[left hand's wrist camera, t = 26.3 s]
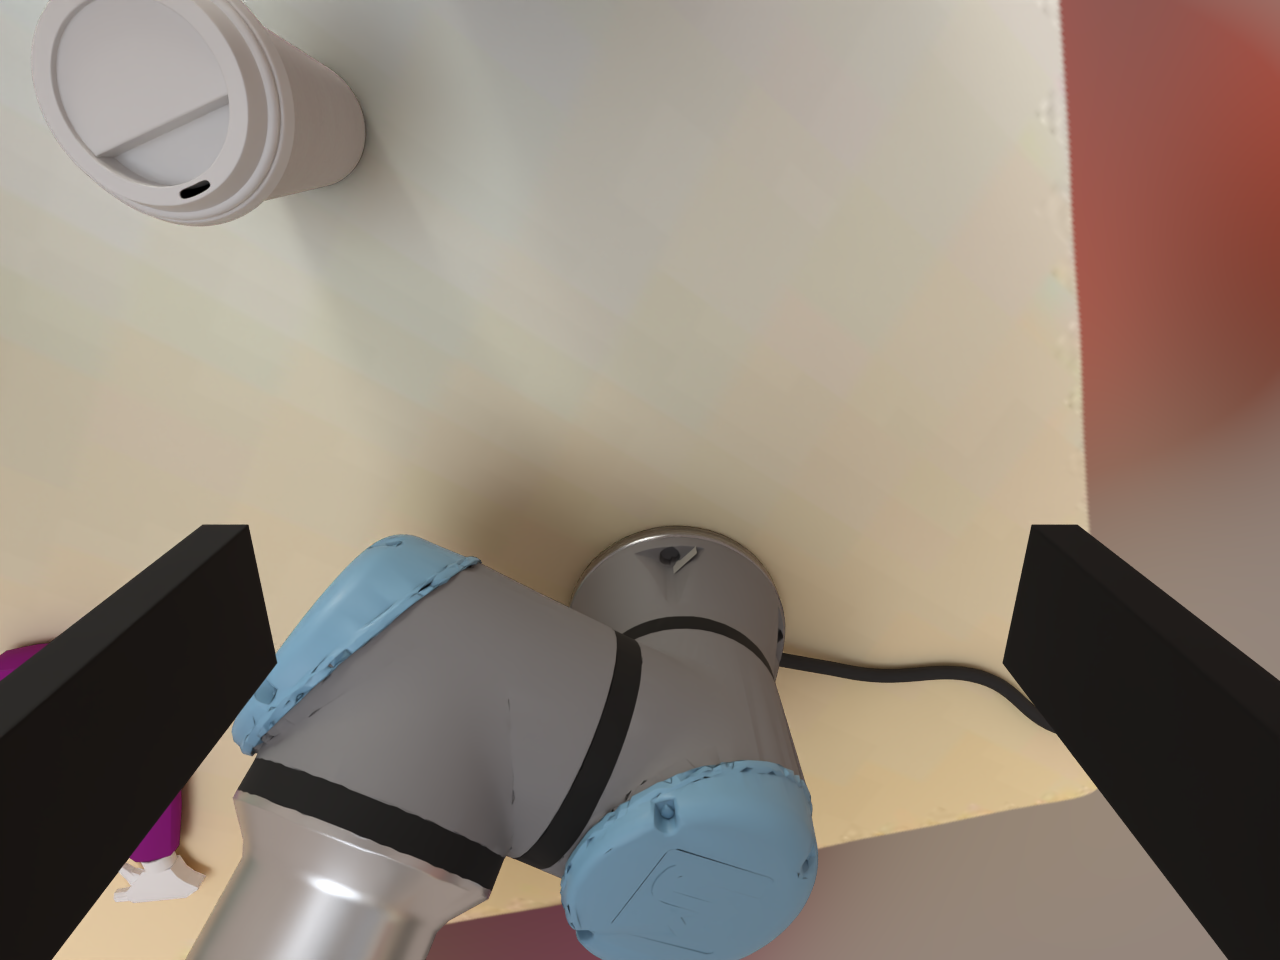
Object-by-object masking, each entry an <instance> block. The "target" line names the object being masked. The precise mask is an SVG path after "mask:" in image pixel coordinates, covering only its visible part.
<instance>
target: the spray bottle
mask: <svg viewBox="0 0 1280 960" xmlns="http://www.w3.org/2000/svg"><path fill="white" fill-rule="evenodd" d="M47 644H49V643H46V644H37V645H31V646H26V647H21V648H17V649H12V650H8V651H6V652H4V653H3V654H1V655H0V681H1V680H2V679H3V678H5V677H6V676H7V675H9V674H10V673H11V672H13V671H14V670H15V669H16V668H18V667H19V666H20V665H22V664H23V663H24V662H25V661H27V660H28V659H29V658H31V657H32V656H33V655H35V654H36V653H37V652H38V651H40V650H41V649H42V648H44V647H45V646H46V645H47ZM181 810H182V799H181V791H180V792H179V793H178V794H177V796H176V797H175V798H174V800H173V801H172V802H171V804H170V805H169V806H168V808H167V809H166V810H165V812H164V813H163V814H162V815H161V817H160V818H159V819H158V821H157V822H156V823H155V825H154V826H153V827H152V829H151V830H150V831H149V833H148V834H147V835H146V837H145V838H144V839H143V840H142V842H141V843H140V844H139V846H138V847H137V848H136V850H135V851H134V852H133V854H132V855H131V856H130V859H132V860H134V861H135V862H141V863H142V865H143V867H144V869H140V868H135V867H133V866H132V865H130V864H128V863H125V864H124V865H123V867H122V868H121V869H120V871H119V873H120V874H121V875H122V876H123V877H124V878H125V879H126V880H127V881H128V883H129V884H130V885H131V886H130V887H126V888H121V889H117V890H116V892H115V893H114V900H115V902H122V901H131V902H133V903H138V902H148V901H158V900H168V899H178V898H186V897H188V896H189V895H191V894H192V893H193V892H195V891H196V890H198V889H199V887H200V885H201V884H202V882H203V880H204V879H205V877H206V875H204V874H202V873H199V872H197V871H195V870H193V869H192V868H190V867H189V866H187V865H186V863H185V862H184V860H183V859H182V857H181V856H180V855H176V853H175V850H176V849H177V847H178V846H179V842H180V826H181Z"/></svg>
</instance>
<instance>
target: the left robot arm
mask: <svg viewBox="0 0 1280 960" xmlns="http://www.w3.org/2000/svg"><path fill="white" fill-rule="evenodd" d="M784 639H785V618H784V612H783V608H782V604H781V601H780V598H779V595H778V592H777V589H776V587H775V584H774V582H773V580H772V578H771V577H770V575H769V573H768V571H767V570H766V569H765V567H764V566H763V565H762V563H761V562H760V561H759V560H758V559H757V558H756V557H755V556H754V555H753V554H752V553H751V552H749V551H748V550H747V549H746V548H744V547H743V546H741V545H740V544H738V543H737V542H735V541H733V540H731V539H730V538H727V537H725V536H723V535H721V534H718V533H715V532H712V531H708V530H704V529H700V528H694V527H683V526H669V527H660V528H654V529H649V530H645V531H641V532H638V533H635V534H633V535H630V536H628V537H625V538H623V539H621V540H620V541H618V542H616V543H614V544H613V545H611V546H610V547H608V548H607V549H605V550H604V551H603V552H602V553H600V554H599V555H598V556H597V557H596V558H595V559H594V560H593V561H592V562H591V563H590V565H589V566H588V567H587V568H586V569H585V571H584V572H583V574H582V575H581V577H580V579H579V581H578V583H577V584H576V587H575V589H574V592H573V594H572V598H571V602H570V607H567V606H565V605H563V604H561V603H559V602H557V601H555V600H553V599H551V598H549V597H547V596H544V595H542V594H540V593H538V592H536V591H534V590H532V589H530V588H528V587H527V586H525V585H523V584H521V583H519V582H517V581H515V580H513V579H511V578H509V577H507V576H505V575H503V574H501V573H499V572H497V571H495V570H493V569H491V568H489V567H487V566H485V565H483V564H482V562H481V560H479V559H478V558H476V557H473V556H471V557H465V556H462V555H460V554H457V553H455V552H452V551H450V550H447V549H445V548H442V547H440V546H438V545H436V544H433V543H431V542H429V541H426V540H424V539H422V538H419V537H416V536H412V535H393V536H389V537H386V538H384V539H381V540H379V541H377V542H376V543H374V544H373V545H371V546H370V547H368V548H367V549H366V550H365V551H363V552H362V553H361V554H360V555H359V556H358V557H356V558H355V559H354V560H353V561H352V562H351V563H350V564H349V565H348V566H347V567H346V568H345V569H344V570H343V571H342V572H341V574H340V575H339V576H338V577H337V578H336V579H335V580H334V581H333V582H332V584H331V585H330V586H329V587H328V588H327V589H326V590H325V592H324V593H323V594H322V595H321V596H320V597H319V599H318V600H317V601H316V602H315V603H314V605H313V606H312V607H311V608H310V610H309V611H308V612H307V613H306V615H305V616H304V617H303V618H302V620H301V621H300V622H299V624H298V625H297V626H296V627H295V629H294V630H293V631H292V633H291V634H290V635H289V637H288V638H287V639H286V641H285V642H284V643H283V645H282V646H281V647H280V649H279V650H278V652H277V653H276V654H275V649H274V644H273V640H272V635H271V630H270V625H269V621H268V616H267V611H266V606H265V602H264V597H263V592H262V587H261V583H260V578H259V573H258V568H257V563H256V559H255V554H254V549H253V544H252V540H251V535H250V530H249V525H202V526H200V527H199V528H198V529H196V530H195V531H194V532H193V533H191V534H190V535H189V536H187V537H186V538H185V539H183V540H182V541H181V542H180V543H178V544H177V545H176V546H174V547H173V548H172V549H170V550H169V551H168V552H167V553H165V554H164V555H163V556H161V557H160V558H159V559H158V560H156V561H155V562H154V563H152V564H151V565H150V566H148V567H147V568H146V569H145V570H143V571H142V572H141V573H139V574H138V575H137V576H136V577H134V578H133V579H132V580H130V581H129V582H128V583H126V584H125V585H124V586H123V587H121V588H120V589H119V590H117V591H116V592H115V593H114V594H112V595H111V596H110V597H108V598H107V599H106V600H104V601H103V602H102V603H101V604H99V605H98V606H97V607H95V608H94V609H93V610H92V611H90V612H89V613H88V614H86V615H85V616H84V617H82V618H81V619H80V620H79V621H77V622H76V623H75V624H73V625H72V626H71V627H69V628H68V629H67V630H66V631H64V632H63V633H62V634H60V635H59V636H58V637H57V638H55V639H54V640H53V641H51V642H50V643H49V644H47V645H46V646H45V647H44V648H42V649H41V650H40V651H38V652H37V653H36V654H35V655H33V656H32V657H31V658H29V659H28V660H27V661H25V662H24V663H23V664H22V665H20V666H19V667H18V668H16V669H15V670H14V671H13V672H11V673H10V674H9V675H7V676H6V677H5V678H3V679H2V680H1V681H0V960H52V959H53V957H54V956H55V955H56V953H57V952H58V951H59V949H60V948H61V947H62V946H63V944H64V943H65V942H66V940H67V939H68V938H69V936H70V935H71V934H72V932H73V931H74V930H75V928H76V927H77V926H78V925H79V923H80V922H81V921H82V919H83V918H84V917H85V915H86V914H87V913H88V911H89V910H90V909H91V907H92V906H93V905H94V903H95V902H96V901H97V900H98V898H99V897H100V896H101V894H102V893H103V892H104V890H105V889H106V888H107V886H108V885H109V884H110V882H111V881H112V880H113V879H114V877H115V876H116V875H117V873H118V872H119V871H120V869H121V868H122V867H123V865H124V864H125V863H126V861H127V860H128V859H129V858H130V856H131V855H132V854H133V852H134V851H135V850H136V848H137V847H138V846H139V844H140V843H141V842H142V840H143V839H144V838H145V837H146V835H147V834H148V833H149V831H150V830H151V829H152V827H153V826H154V825H155V823H156V822H157V821H158V819H159V818H160V817H161V815H162V814H163V813H164V812H165V810H166V809H167V808H168V806H169V805H170V804H171V802H172V801H173V800H174V798H175V797H176V796H177V794H178V793H179V792H180V791H181V789H182V788H183V787H184V785H185V784H186V783H187V781H188V780H189V779H190V777H191V776H192V775H193V773H194V772H195V771H196V770H197V768H198V767H199V766H200V764H201V763H202V762H203V760H204V759H205V758H206V756H207V755H208V754H209V752H210V751H211V750H212V748H213V747H214V746H215V745H216V743H217V742H218V741H219V739H220V738H221V737H222V735H223V734H224V733H225V731H226V730H227V729H228V727H229V726H230V725H231V724H232V722H233V721H234V720H235V721H234V724H233V727H232V735H233V740H234V742H235V743H236V744H238V745H239V746H240V748H241V751H242V753H243V754H246V755H250V756H253V755H254V754H255V753H258V754H257V756H256V758H255V760H254V762H253V764H252V765H251V767H250V769H249V770H248V772H247V774H246V776H245V777H244V779H243V781H242V782H241V784H240V786H239V788H238V789H237V791H236V793H235V795H234V797H233V801H234V805H235V809H236V813H237V817H238V821H239V825H240V829H241V833H242V837H243V856H242V859H241V860H240V862H239V864H238V866H237V868H236V869H235V871H234V873H233V875H232V877H231V878H230V880H229V882H228V884H227V886H226V887H225V889H224V891H223V893H222V895H221V896H220V898H219V900H218V902H217V903H216V905H215V907H214V909H213V911H212V912H211V914H210V916H209V918H208V920H207V921H206V923H205V925H204V927H203V929H202V930H201V932H200V934H199V936H198V938H197V939H196V941H195V943H194V945H193V946H192V948H191V950H190V952H189V954H188V955H187V957H186V959H185V960H426V958H427V955H428V953H429V950H430V948H431V946H432V943H433V941H434V938H435V936H436V933H437V932H438V931H439V930H440V929H441V928H442V927H443V926H444V925H445V924H446V923H447V922H448V921H449V920H451V919H453V918H455V917H456V916H458V915H460V914H462V913H464V912H466V911H467V910H469V909H471V908H473V907H475V906H476V905H478V904H480V903H482V902H484V901H485V900H487V899H488V898H489V896H490V894H491V891H492V889H493V886H494V884H495V881H496V878H497V876H498V873H499V871H500V868H501V865H502V863H503V860H504V859H505V857H506V856H508V857H511V858H513V859H516V860H519V861H521V862H524V863H526V864H528V865H531V866H533V867H536V868H538V869H540V870H543V871H545V872H547V873H550V874H552V875H555V876H557V877H559V878H561V891H560V894H561V902H562V905H563V907H564V909H565V913H566V918H567V921H568V923H569V925H570V926H571V927H572V928H573V929H575V930H576V936H577V939H578V941H579V942H580V943H581V944H582V945H583V946H584V947H585V948H586V949H587V950H588V951H589V952H591V953H592V954H594V955H595V956H597V957H599V958H601V959H602V960H739V959H742V958H744V957H746V956H748V955H750V954H752V953H754V952H755V951H757V950H759V949H761V948H762V947H764V946H765V945H767V944H768V943H770V942H771V941H772V940H774V939H775V938H776V937H777V936H778V935H780V934H781V933H782V932H783V931H784V930H785V929H786V928H787V927H788V926H789V925H790V924H791V923H792V921H793V920H794V919H795V918H796V917H797V916H798V914H799V913H800V912H801V910H802V909H803V907H804V905H805V904H806V902H807V900H808V898H809V896H810V893H811V891H812V888H813V886H814V883H815V879H816V874H817V868H818V849H817V842H816V837H815V832H814V827H813V822H812V803H811V795H810V792H809V790H808V788H807V785H806V783H805V780H804V777H803V773H802V770H801V767H800V763H799V760H798V757H797V753H796V750H795V747H794V743H793V740H792V737H791V733H790V730H789V727H788V723H787V720H786V717H785V713H784V710H783V707H782V703H781V700H780V697H779V693H778V690H777V687H776V683H775V681H776V677H777V673H778V669H779V666H780V667H785V668H791V669H797V670H802V671H808V672H814V673H820V674H826V675H831V676H836V677H841V678H847V679H852V680H859V681H867V682H881V683H895V682H912V681H924V680H938V679H954V680H964V681H970V682H974V683H978V684H981V685H984V686H987V687H989V688H991V689H993V690H995V691H997V692H998V693H1000V694H1001V695H1003V696H1004V697H1005V698H1007V699H1008V700H1009V701H1010V702H1011V703H1012V704H1013V705H1015V706H1016V707H1017V708H1018V709H1019V710H1020V711H1021V712H1022V713H1023V714H1024V715H1026V716H1027V717H1028V718H1029V719H1031V720H1032V721H1033V722H1035V723H1036V724H1038V725H1039V726H1041V727H1043V728H1045V729H1046V730H1049V731H1051V732H1053V733H1056V734H1057V735H1058V737H1059V738H1060V739H1061V741H1062V742H1063V743H1064V745H1065V746H1066V747H1067V748H1068V750H1069V751H1070V752H1071V754H1072V755H1073V756H1074V758H1075V759H1076V760H1077V762H1078V763H1079V764H1080V766H1081V767H1082V768H1083V770H1084V771H1085V772H1086V773H1087V775H1088V776H1089V777H1090V779H1091V780H1092V781H1093V783H1094V784H1095V785H1096V787H1097V788H1098V789H1099V791H1100V792H1101V793H1102V794H1103V796H1104V797H1105V798H1106V800H1107V801H1108V802H1109V804H1110V805H1111V806H1112V808H1113V809H1114V810H1115V812H1116V813H1117V814H1118V815H1119V817H1120V818H1121V819H1122V821H1123V822H1124V823H1125V825H1126V826H1127V827H1128V829H1129V830H1130V831H1131V833H1132V834H1133V835H1134V836H1135V838H1136V839H1137V840H1138V842H1139V843H1140V844H1141V846H1142V847H1143V848H1144V850H1145V851H1146V852H1147V854H1148V855H1149V856H1150V858H1151V859H1152V860H1153V861H1154V863H1155V864H1156V865H1157V867H1158V868H1159V869H1160V871H1161V872H1162V873H1163V875H1164V876H1165V877H1166V879H1167V880H1168V881H1169V882H1170V884H1171V885H1172V886H1173V888H1174V889H1175V890H1176V892H1177V893H1178V894H1179V896H1180V897H1181V898H1182V900H1183V901H1184V902H1185V903H1186V905H1187V906H1188V907H1189V909H1190V910H1191V911H1192V913H1193V914H1194V915H1195V917H1196V918H1197V919H1198V921H1199V922H1200V923H1201V924H1202V926H1203V927H1204V928H1205V930H1206V931H1207V932H1208V934H1209V935H1210V936H1211V938H1212V939H1213V940H1214V942H1215V943H1216V944H1217V945H1218V947H1219V948H1220V949H1221V951H1222V952H1223V953H1224V955H1225V956H1226V957H1227V959H1228V960H1280V681H1279V680H1278V679H1277V678H1275V677H1274V676H1273V675H1271V674H1270V673H1269V672H1267V671H1266V670H1265V669H1264V668H1262V667H1261V666H1260V665H1258V664H1257V663H1256V662H1255V661H1253V660H1252V659H1251V658H1249V657H1248V656H1247V655H1245V654H1244V653H1243V652H1242V651H1240V650H1239V649H1238V648H1236V647H1235V646H1234V645H1232V644H1231V643H1230V642H1229V641H1227V640H1226V639H1225V638H1223V637H1222V636H1221V635H1220V634H1218V633H1217V632H1216V631H1214V630H1213V629H1212V628H1211V627H1209V626H1208V625H1207V624H1205V623H1204V622H1203V621H1201V620H1200V619H1199V618H1198V617H1196V616H1195V615H1194V614H1192V613H1191V612H1190V611H1188V610H1187V609H1186V608H1185V607H1183V606H1182V605H1181V604H1179V603H1178V602H1177V601H1176V600H1174V599H1173V598H1172V597H1170V596H1169V595H1168V594H1166V593H1165V592H1164V591H1163V590H1161V589H1160V588H1159V587H1157V586H1156V585H1155V584H1154V583H1152V582H1151V581H1150V580H1148V579H1147V578H1146V577H1144V576H1143V575H1142V574H1141V573H1139V572H1138V571H1137V570H1135V569H1134V568H1133V567H1132V566H1130V565H1129V564H1128V563H1126V562H1125V561H1124V560H1122V559H1121V558H1120V557H1119V556H1117V555H1116V554H1115V553H1113V552H1112V551H1111V550H1109V549H1108V548H1107V547H1106V546H1104V545H1103V544H1102V543H1100V542H1099V541H1098V540H1096V539H1095V538H1094V537H1093V536H1091V535H1090V534H1089V533H1087V532H1086V531H1085V530H1084V529H1082V528H1081V527H1080V526H1078V525H1031V530H1030V535H1029V540H1028V544H1027V549H1026V554H1025V559H1024V563H1023V568H1022V573H1021V578H1020V583H1019V587H1018V592H1017V597H1016V602H1015V606H1014V611H1013V616H1012V621H1011V625H1010V630H1009V635H1008V640H1007V644H1006V649H1005V654H1004V659H1003V664H1004V666H1005V667H1006V668H1007V670H1008V671H1009V672H1010V674H1011V675H1012V676H1013V678H1014V679H1015V680H1016V682H1017V683H1018V684H1019V685H1020V687H1021V688H1022V689H1023V691H1024V692H1025V693H1026V695H1027V696H1028V697H1029V699H1030V700H1031V701H1032V703H1033V704H1034V705H1035V706H1036V707H1035V706H1034V705H1033V704H1032V703H1031V702H1030V701H1029V700H1028V699H1026V698H1025V697H1024V696H1023V695H1022V694H1021V693H1020V692H1019V691H1018V690H1017V689H1015V688H1014V687H1013V686H1012V685H1010V684H1009V683H1008V682H1006V681H1004V680H1003V679H1001V678H999V677H997V676H995V675H993V674H990V673H987V672H985V671H981V670H977V669H973V668H967V667H959V666H931V667H919V668H907V669H872V668H863V667H856V666H851V665H846V664H841V663H836V662H831V661H825V660H819V659H814V658H808V657H802V656H797V655H791V654H786V653H782V652H783V647H784ZM235 718H236V719H235Z"/></svg>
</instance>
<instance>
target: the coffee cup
mask: <svg viewBox="0 0 1280 960" xmlns="http://www.w3.org/2000/svg"><path fill="white" fill-rule="evenodd" d="M31 68H32V78H33V84H34V89H35V93H36V97H37V100H38V103H39V106H40V109H41V111H42V114H43V116H44V118H45V120H46V122H47V124H48V126H49V128H50V130H51V132H52V134H53V135H54V137H55V138H56V140H57V141H58V143H59V144H60V146H61V147H62V149H63V150H64V151H65V152H66V154H67V155H68V156H69V157H70V158H71V159H72V161H73V162H74V163H75V164H76V165H77V166H78V167H79V168H80V169H81V170H82V171H84V172H85V173H86V174H87V175H88V176H89V177H91V178H92V179H93V180H94V181H95V182H96V183H97V184H98V185H100V186H101V187H102V188H103V189H104V190H106V191H107V192H108V193H110V194H111V195H113V196H114V197H115V198H117V199H118V200H120V201H121V202H123V203H125V204H126V205H128V206H130V207H132V208H134V209H136V210H138V211H140V212H142V213H144V214H147V215H149V216H152V217H155V218H157V219H160V220H163V221H166V222H170V223H174V224H180V225H187V226H211V225H218V224H222V223H226V222H230V221H232V220H235V219H238V218H240V217H242V216H244V215H246V214H247V213H249V212H251V211H252V210H254V209H255V208H256V207H258V206H259V205H260V204H261V203H262V202H263V201H266V200H270V199H274V198H278V197H282V196H286V195H291V194H295V193H299V192H303V191H307V190H312V189H316V188H320V187H324V186H328V185H332V184H334V183H337V182H339V181H340V180H342V179H344V178H345V177H346V176H348V175H349V174H350V173H351V172H352V170H353V169H354V168H355V167H356V165H357V164H358V162H359V160H360V158H361V155H362V152H363V149H364V144H365V122H364V117H363V113H362V110H361V107H360V105H359V102H358V100H357V98H356V96H355V95H354V93H353V91H352V90H351V89H350V87H349V86H348V85H347V83H346V82H345V81H344V80H343V79H342V78H341V77H340V76H339V75H337V74H336V73H335V72H334V71H332V70H331V69H329V68H328V67H326V66H325V65H323V64H322V63H320V62H318V61H317V60H315V59H314V58H312V57H311V56H309V55H307V54H306V53H304V52H303V51H301V50H300V49H298V48H297V47H295V46H293V45H292V44H290V43H289V42H287V41H286V40H284V39H283V38H281V37H279V36H278V35H276V34H275V33H273V32H272V31H270V30H269V29H267V28H265V27H264V26H262V24H261V23H260V22H259V20H258V19H257V18H256V16H255V15H254V14H253V13H252V12H251V11H250V9H249V8H248V7H247V6H246V5H245V4H244V3H243V2H242V1H241V0H50V1H49V2H48V3H47V5H46V6H45V8H44V10H43V12H42V13H41V16H40V18H39V20H38V23H37V26H36V29H35V32H34V37H33V42H32V51H31Z"/></svg>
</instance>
